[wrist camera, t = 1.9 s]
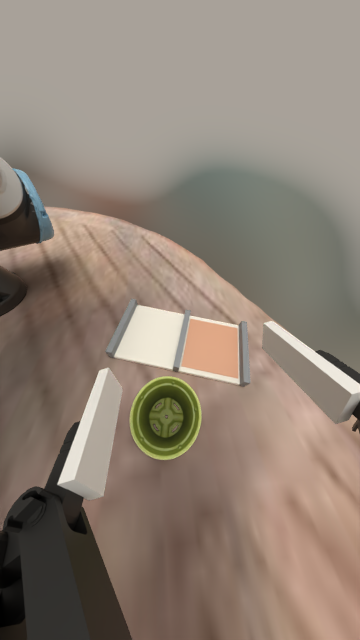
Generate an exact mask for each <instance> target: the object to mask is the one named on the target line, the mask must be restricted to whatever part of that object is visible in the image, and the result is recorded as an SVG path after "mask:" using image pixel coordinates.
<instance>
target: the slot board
mask: <svg viewBox="0 0 360 640" xmlns="http://www.w3.org/2000/svg"><path fill="white" fill-rule="evenodd" d="M190 312H191V311H190V310H186V311H185V315H184V314H180V313H175V312H170V311H165V310H160V309H155V308H150V307H145V306H140V305H137V301H136V300H135V299H131V301H130V303H129V305H128V307H127V309H126V311H125V313H124V315H123V317H122V319H121V321H120V323H119V325H118V327H117V329H116V331H115V333H114V335H113V337H112V339H111V341H110V343H109V345H108V347H107V349H106V351H105V352H106V353H107V354H108V355H109V357H112V358H116V359H121V360H125V361H130V362H134V363H139V364H144V365H148V366H153V367H157V368H162V369H166V370H171V371H175V372H180V373H184V374H189V375H193V376H198V377H202V378H207V379H212V380H216V381H221V382H225V383H230V384H234V385H239V386H243V387H244V386H246V385H248V384H250V368H249V350H248V333H247V322H244V321H241V323H240V324H239V325H234V324H229V323H224V322H219V321H214V320H209V319H204V318H199V317H194V316H190Z"/></svg>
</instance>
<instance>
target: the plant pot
mask: <svg viewBox="0 0 360 640" xmlns="http://www.w3.org/2000/svg"><path fill="white" fill-rule="evenodd" d="M159 403H162V404H161V405H160V406H158V408H157V409H156V408H155V407H156V405H158V404H159ZM174 404H176V405H177V406H178V408H179V410H177V408H176V407H175V406H174ZM165 415H167V416H168V418H165ZM153 424H155V425H156V427H157V429H158V430H159V431H157V430H156V429H155V428H154V426H153ZM177 425H178V427H177V429H176V430H175V431H174V432H172V430H173V429H174V428H175V427H176V426H177ZM200 426H201V407H200V403H199V400H198V397H197V395H196V393H195V392H194V390H193V389H192V388H191V387H190V386H189V385H188V384H187V383H186V382H184V381H183V380H181V379H179V378H176V377H171V376H164V377H159V378H156V379H154V380H152V381H150V382H149V383H147V384H146V385H145V386H144V387H143V388H142V389H141V390H140V391H139V393H138V394H137V396H136V398H135V400H134V402H133V405H132V408H131V412H130V429H131V434H132V436H133V439H134V441H135V443H136V444H137V446H138V447H139V448H140V450H141V451H143V452H144V453H145V454H146V455H148V456H150V457H152V458H155V459H159V460H170V459H174V458H176V457H178V456H180V455H182V454H183V453H185V452H186V451H187V450H188V449H189V448H190V447H191V446H192V444H193V443H194V441H195V439H196V438H197V435H198V433H199V430H200Z"/></svg>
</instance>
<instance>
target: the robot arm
mask: <svg viewBox="0 0 360 640" xmlns="http://www.w3.org/2000/svg"><path fill="white" fill-rule="evenodd" d="M53 236H54V230H53V227H52V224H51V221H50V219H49V217H48V215H47V213H46V210H45V208H44V206H43V203H42V201H41V200H40V197H39V195H38V194H37V192H36V189H35V188H34V186H33V184H32V182H31V180H30V179H29V177H28V176H27V175H26V174H25V173H24V172H23V171H21V170H16V169H14V168H13V169H12V168H11V167H10V166H9V165H8V163H7V162H5V161H4V160H3V159H2V158H0V251H2V250H7V249H11V248H16V247H20V246H25V245H29V244H33V243H37V244H38V243H41V242H42V241H46V240H49V239H51V238H53ZM26 290H27V287H26V284H25V283H24V282H23V281H22V280H21V279H20V278H19V277H18V276H17V275H16V274H14V273H12V272H10V271H8V270H7V269H5V268H3V267H2V266H0V315H2V314H4V313H6V312H8V311H10V310H11V309H12V308H14V307H15V306H16V305H17V304H19V303H20V301H21V300H22V299H23V298H24V296H25V294H26ZM262 349H263V350H264V351H265V352H266V353H267V354H268V355H269V356H270V357H271V358H272V359H273V360H274V361H275V362H276V363H277V364H278V365H279V366H280V367H281V368H282V369H283V370H284V371H285V372H286V373H287V374H288V375H289V376H290V378H291V379H292V380H293V381H294V382H295V383H296V384H297V385H298V386H299V387H300V388H301V389H302V390H303V391H304V392H305V393H306V394H307V395H308V396H309V397H310V398H311V399H312V400H313V401H314V402H315V403H316V404H317V405H318V407H319V408H320V409H321V410H322V411H323V412H324V413H325V414H326V415H327V416H328V417H329V418H330V419H331V420H332V421H333V422H334V423H335V424H338V423H341V422H344V421H347V420H349V418H350V417H351V415H352V414H353V415H354V416H355V417H356V418H357V421H356V422H355V424H354V425H353V427H352V431H356V430H357V428H358V429H359V433H360V374H359V373H358V372H356V371H355V370H353V369H352V368H350V367H348V366H347V365H346V364H344V363H343V362H340V361H339V360H338V359H337V358H335V357H334V356H332V355H331V354H329V353H326V352H324V351H321V350H318V351H313V350H312V349H311V348H309V347H308V346H306V345H305V344H304V343H302V342H301V341H300V340H298V339H297V338H295V337H294V336H293V335H291V334H290V333H288V332H287V331H286V330H284V329H283V328H282V327H280V326H279V325H277V324H276V323H275V322H273V321H270V322H266V323H264V324H263V341H262ZM122 390H123V388H122V387H121V385H120V384H119V382H118V381H117V379H116V378H115V376H114V375H113V373H112V372H111V370H110V369H109V368H106V369H102V370H100V371H99V373H98V376H97V379H96V381H95V384H94V387H93V389H92V392H91V395H90V398H89V400H88V403H87V406H86V408H85V411H84V414H83V416H82V419H81V421H79V422H76V423H74V424H73V426H72V427H71V429H70V430H69V431H68V433H67V435H66V438H65V440H64V444H63V445H62V447H61V450H60V454H59V455H58V457H57V460H56V462H55V464H54V467H53V469H52V472H51V474H50V476H49V479H48V481H47V484H46V486H45V488H44V489H43V488H40V487H33V488H30V489H28V490H27V491H26V492H25V493H23V494H22V495H21V496H20V497H19V498H18V500H17V501H16V502H15V503H14V504H13V506H12V508H11V509H10V511H9V512H8V514H7V517H6V519H5V521H4V526H3V530H2V531H0V640H132V638H131V635H130V632H129V630H128V627H127V624H126V621H125V619H124V616H123V613H122V611H121V608H120V605H119V603H118V600H117V597H116V594H115V592H114V589H113V586H112V584H111V581H110V578H109V575H108V573H107V570H106V567H105V565H104V562H103V559H102V557H101V554H100V551H99V548H98V546H97V543H96V540H95V538H94V535H93V532H92V530H91V527H90V524H89V521H88V519H87V516H86V513H85V511H84V509H83V507H82V502H83V498H85V499H87V500H89V501H90V500H93V499H97V498H100V497H103V496H104V491H105V485H106V480H107V474H108V468H109V463H110V457H111V452H112V446H113V440H114V435H115V429H116V424H117V418H118V412H119V407H120V401H121V396H122Z"/></svg>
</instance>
